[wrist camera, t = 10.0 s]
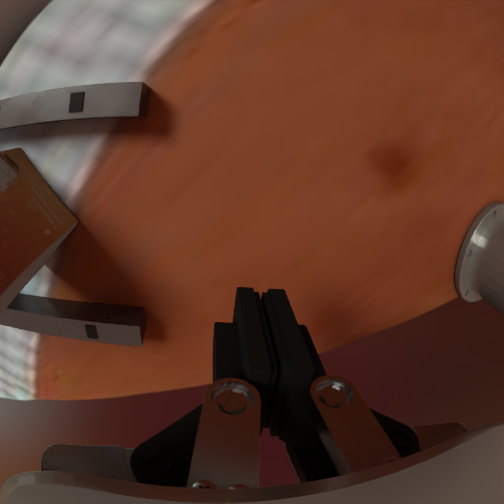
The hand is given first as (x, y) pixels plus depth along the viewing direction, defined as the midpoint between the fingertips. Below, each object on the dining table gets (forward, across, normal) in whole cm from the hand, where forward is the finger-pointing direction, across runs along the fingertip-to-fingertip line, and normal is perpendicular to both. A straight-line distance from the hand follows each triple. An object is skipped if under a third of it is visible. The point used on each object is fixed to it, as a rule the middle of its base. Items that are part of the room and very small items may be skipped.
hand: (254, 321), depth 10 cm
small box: (+10, +16, -1) cm, 19 cm away
